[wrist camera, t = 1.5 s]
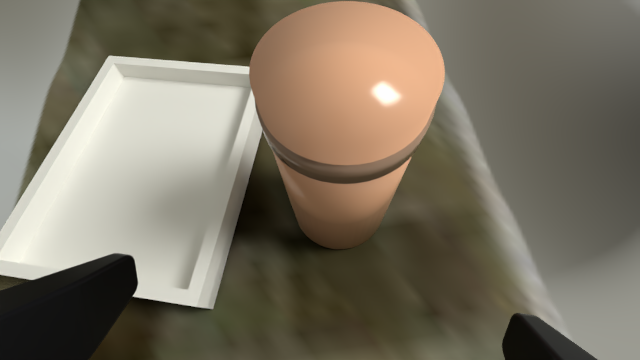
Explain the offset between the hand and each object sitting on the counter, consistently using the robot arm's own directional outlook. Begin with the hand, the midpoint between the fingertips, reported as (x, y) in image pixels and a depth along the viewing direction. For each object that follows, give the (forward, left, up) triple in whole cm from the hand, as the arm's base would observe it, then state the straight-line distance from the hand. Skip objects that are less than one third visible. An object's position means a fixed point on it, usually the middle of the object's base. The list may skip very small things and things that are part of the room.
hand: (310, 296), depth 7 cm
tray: (+8, +14, -13) cm, 21 cm away
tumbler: (+7, 0, -13) cm, 15 cm away
